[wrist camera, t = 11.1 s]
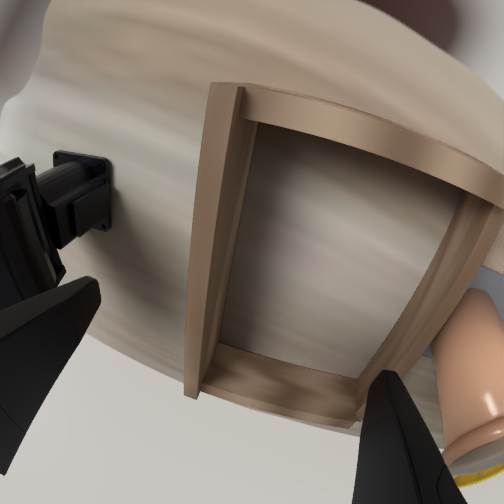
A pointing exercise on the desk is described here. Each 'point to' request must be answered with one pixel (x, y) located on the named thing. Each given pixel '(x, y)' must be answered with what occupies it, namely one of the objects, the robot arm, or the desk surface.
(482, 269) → the potting mat
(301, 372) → the frame
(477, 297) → the terracotta pot
